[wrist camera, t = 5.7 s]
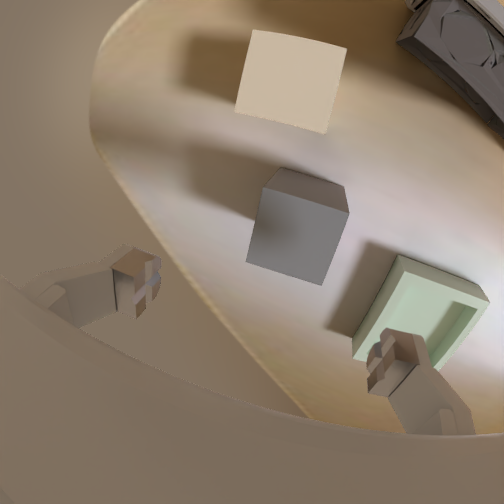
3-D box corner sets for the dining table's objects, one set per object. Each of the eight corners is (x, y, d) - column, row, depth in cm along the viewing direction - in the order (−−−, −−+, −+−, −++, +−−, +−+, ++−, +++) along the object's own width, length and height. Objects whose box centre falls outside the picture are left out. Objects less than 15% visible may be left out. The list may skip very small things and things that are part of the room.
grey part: (280, 167, 17) (263, 187, 13) (343, 186, 16) (349, 213, 12) (266, 225, 19) (245, 261, 15) (324, 243, 18) (321, 285, 14)
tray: (397, 254, 17) (404, 271, 15) (479, 286, 16) (490, 302, 14) (352, 338, 21) (352, 358, 19) (429, 358, 20) (433, 376, 18)
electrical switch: (515, 96, 10) (606, 119, 2) (482, 148, 13) (564, 201, 5) (407, -3, 9) (450, -67, 2) (370, 51, 13) (396, 9, 5)
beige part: (274, 52, 14) (252, 29, 9) (341, 68, 13) (347, 49, 9) (259, 112, 16) (234, 112, 11) (325, 129, 15) (325, 134, 11)
